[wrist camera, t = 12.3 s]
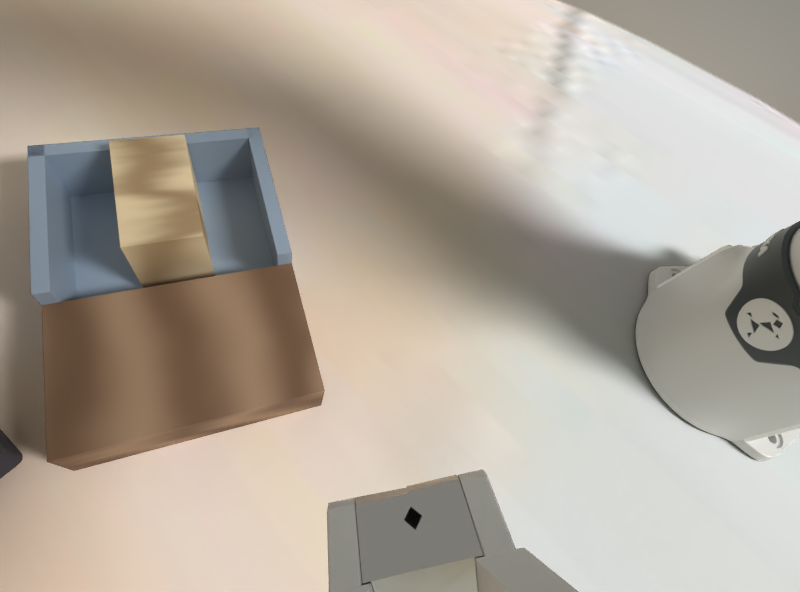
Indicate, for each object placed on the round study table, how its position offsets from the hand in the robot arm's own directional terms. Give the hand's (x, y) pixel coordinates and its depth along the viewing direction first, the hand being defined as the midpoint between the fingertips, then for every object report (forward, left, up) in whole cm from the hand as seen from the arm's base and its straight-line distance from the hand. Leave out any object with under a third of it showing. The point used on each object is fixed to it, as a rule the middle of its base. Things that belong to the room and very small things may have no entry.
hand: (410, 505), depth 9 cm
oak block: (+6, -20, -22) cm, 30 cm away
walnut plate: (+6, -13, -26) cm, 30 cm away
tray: (+6, -24, -26) cm, 36 cm away
